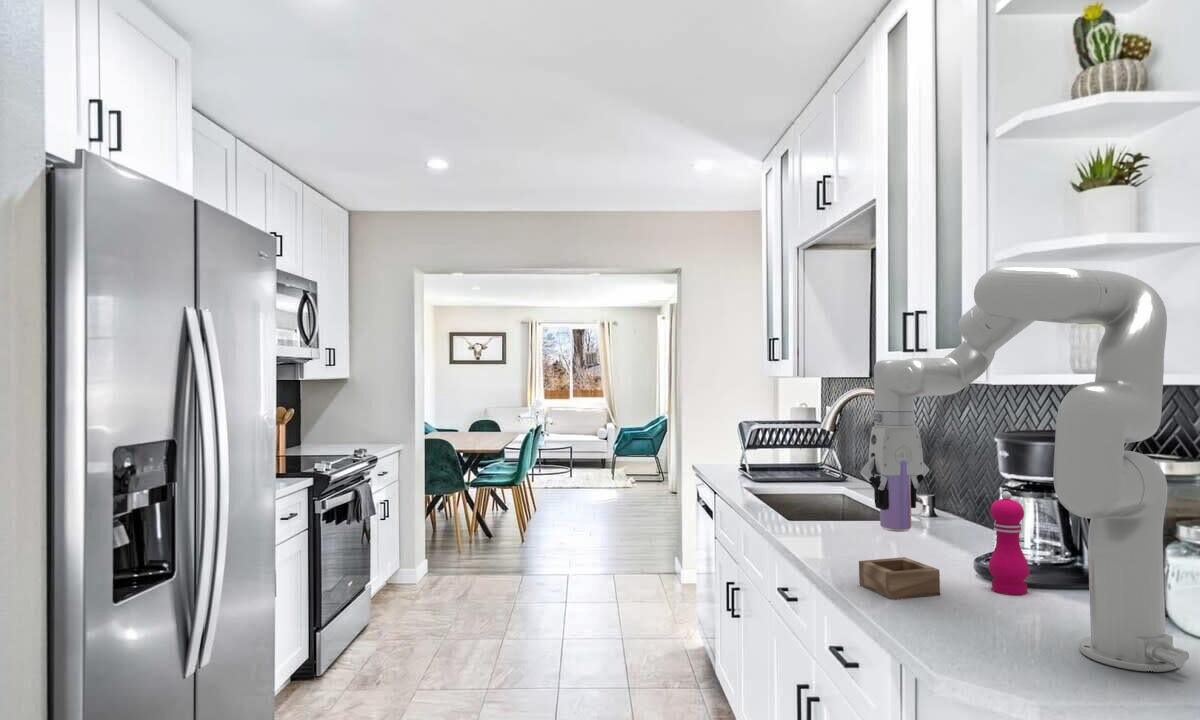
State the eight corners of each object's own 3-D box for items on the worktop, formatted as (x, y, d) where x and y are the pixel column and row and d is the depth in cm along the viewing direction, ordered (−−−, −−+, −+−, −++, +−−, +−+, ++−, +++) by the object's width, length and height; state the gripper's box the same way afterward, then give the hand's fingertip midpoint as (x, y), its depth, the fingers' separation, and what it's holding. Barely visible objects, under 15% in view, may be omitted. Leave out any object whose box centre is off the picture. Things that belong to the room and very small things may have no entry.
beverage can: (902, 533, 151) (901, 458, 151) (874, 529, 155) (873, 456, 156) (916, 529, 155) (915, 455, 155) (889, 525, 159) (888, 453, 160)
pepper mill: (1035, 596, 148) (1032, 494, 149) (995, 595, 150) (992, 493, 150) (1022, 586, 155) (1019, 489, 156) (984, 585, 157) (981, 488, 157)
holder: (940, 594, 150) (939, 569, 151) (891, 599, 148) (890, 573, 148) (905, 580, 161) (904, 557, 161) (859, 584, 159) (858, 561, 159)
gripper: (867, 422, 150) (869, 513, 149) (942, 419, 154) (944, 508, 154) (846, 420, 157) (847, 507, 157) (918, 417, 161) (920, 502, 161)
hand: (895, 507), depth 155 cm, fingers closed on beverage can, 5 cm apart
